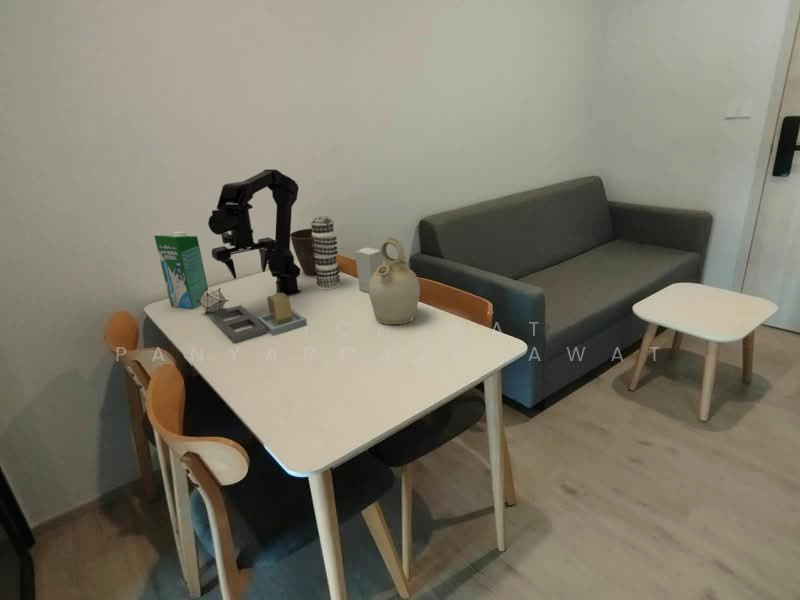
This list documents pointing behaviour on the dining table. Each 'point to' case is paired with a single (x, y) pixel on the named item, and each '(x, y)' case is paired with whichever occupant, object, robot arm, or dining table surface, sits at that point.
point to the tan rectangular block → (280, 309)
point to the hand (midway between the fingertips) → (249, 275)
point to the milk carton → (182, 268)
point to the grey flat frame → (238, 324)
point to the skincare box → (367, 265)
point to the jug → (394, 288)
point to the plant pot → (304, 250)
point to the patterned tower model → (325, 253)
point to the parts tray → (274, 330)
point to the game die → (212, 300)
